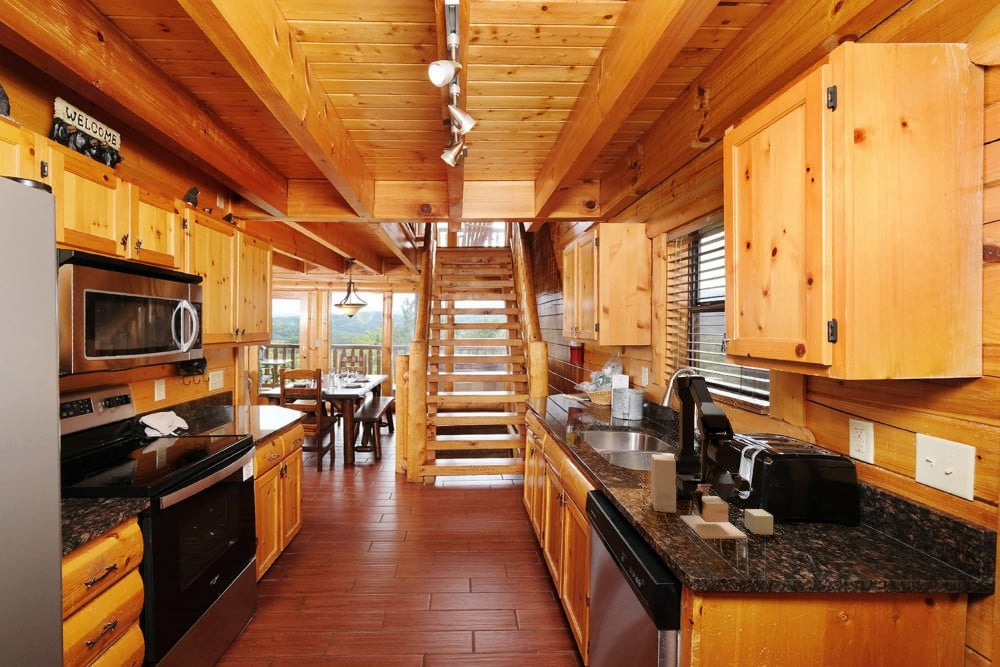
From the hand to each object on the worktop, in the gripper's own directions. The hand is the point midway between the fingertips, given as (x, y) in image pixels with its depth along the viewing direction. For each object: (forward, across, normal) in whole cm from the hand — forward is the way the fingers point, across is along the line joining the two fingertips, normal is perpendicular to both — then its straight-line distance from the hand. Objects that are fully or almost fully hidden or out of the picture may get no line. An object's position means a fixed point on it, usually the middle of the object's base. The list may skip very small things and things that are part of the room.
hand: (711, 514), depth 132 cm
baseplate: (+4, 0, 0) cm, 4 cm away
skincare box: (+4, -8, +15) cm, 17 cm away
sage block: (+4, +12, -2) cm, 13 cm away
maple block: (+1, 0, 0) cm, 1 cm away
